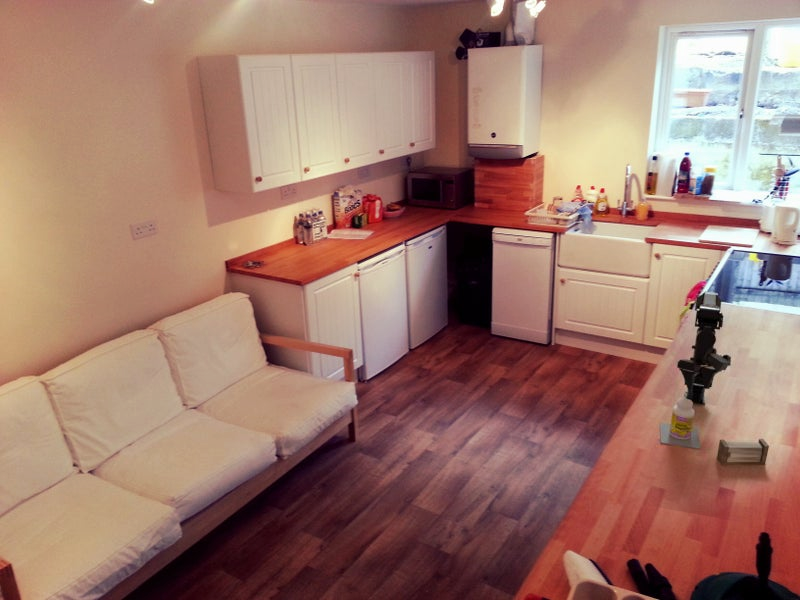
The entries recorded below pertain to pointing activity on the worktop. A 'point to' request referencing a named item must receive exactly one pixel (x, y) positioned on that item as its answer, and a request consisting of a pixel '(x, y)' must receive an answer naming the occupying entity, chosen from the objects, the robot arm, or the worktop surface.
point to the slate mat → (670, 440)
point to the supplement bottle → (682, 419)
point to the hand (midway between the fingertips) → (697, 389)
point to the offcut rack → (742, 452)
